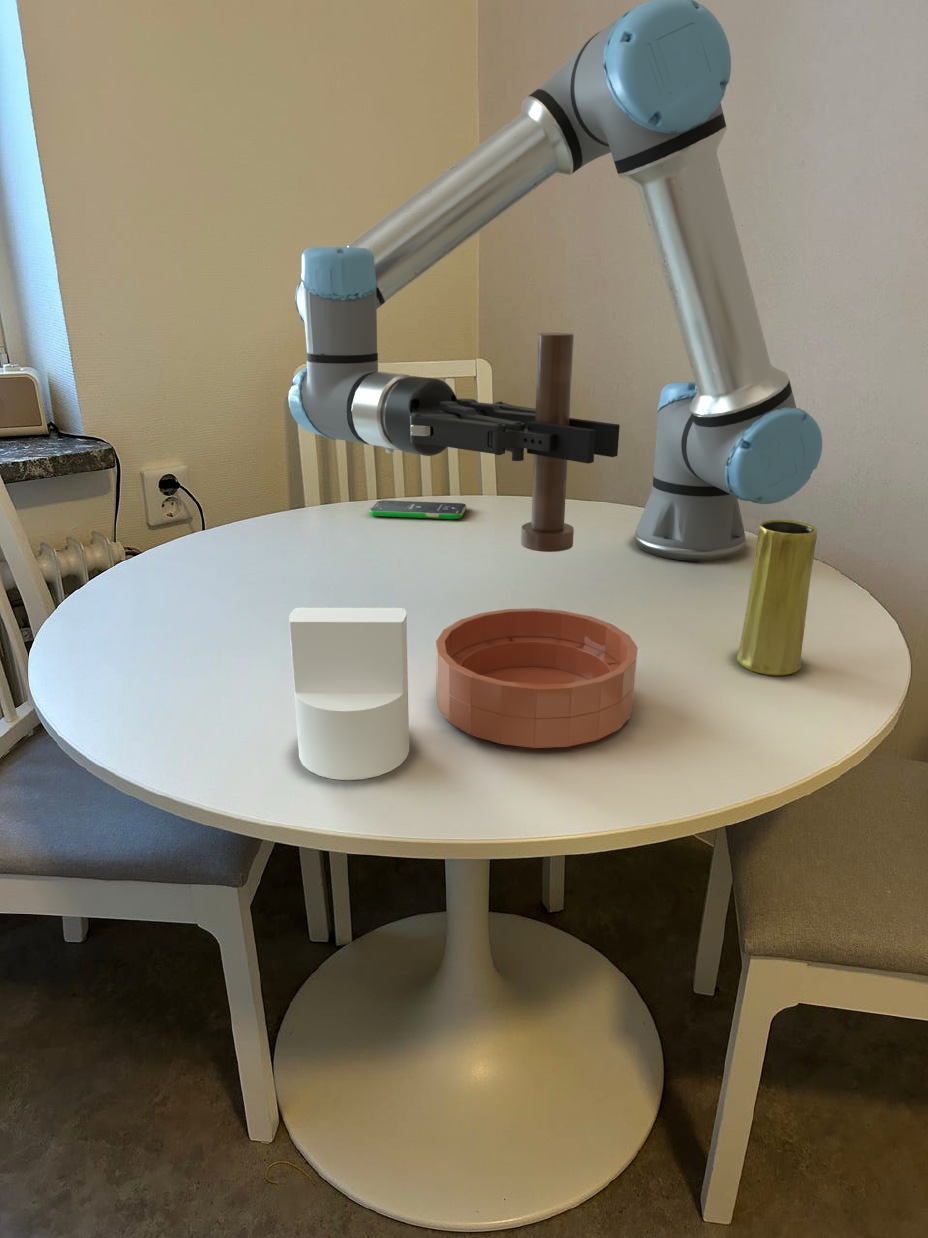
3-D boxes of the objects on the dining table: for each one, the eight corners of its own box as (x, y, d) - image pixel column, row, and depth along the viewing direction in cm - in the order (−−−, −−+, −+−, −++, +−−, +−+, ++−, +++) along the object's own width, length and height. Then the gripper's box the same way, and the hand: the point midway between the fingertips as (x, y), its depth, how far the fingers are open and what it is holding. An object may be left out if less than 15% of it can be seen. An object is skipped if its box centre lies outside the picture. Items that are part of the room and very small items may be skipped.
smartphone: (378, 499, 146) (467, 502, 144) (378, 505, 146) (467, 508, 144) (367, 510, 139) (461, 514, 137) (367, 516, 139) (461, 520, 137)
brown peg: (567, 536, 83) (578, 331, 76) (577, 551, 79) (589, 335, 72) (517, 537, 83) (523, 331, 76) (524, 552, 79) (531, 335, 72)
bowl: (605, 661, 88) (609, 606, 86) (655, 749, 72) (662, 684, 70) (432, 666, 87) (431, 610, 85) (443, 758, 71) (442, 692, 68)
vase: (800, 680, 84) (822, 538, 79) (734, 671, 86) (752, 531, 81) (800, 656, 90) (822, 521, 84) (738, 647, 92) (755, 515, 86)
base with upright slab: (289, 780, 68) (278, 637, 63) (308, 724, 76) (299, 594, 72) (406, 780, 68) (402, 637, 63) (412, 724, 76) (409, 594, 72)
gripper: (460, 440, 95) (649, 472, 81) (349, 462, 84) (545, 504, 70) (461, 369, 92) (656, 389, 78) (346, 382, 81) (549, 408, 67)
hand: (603, 443), depth 74 cm, fingers closed on brown peg, 3 cm apart
